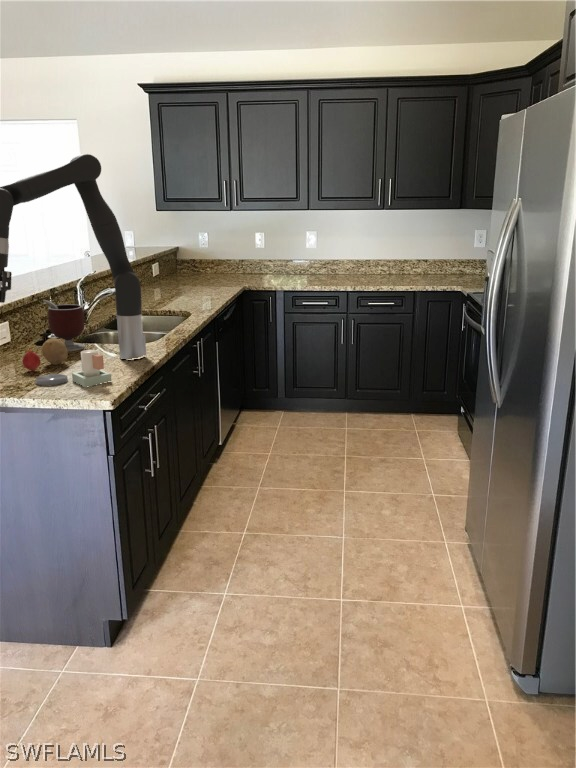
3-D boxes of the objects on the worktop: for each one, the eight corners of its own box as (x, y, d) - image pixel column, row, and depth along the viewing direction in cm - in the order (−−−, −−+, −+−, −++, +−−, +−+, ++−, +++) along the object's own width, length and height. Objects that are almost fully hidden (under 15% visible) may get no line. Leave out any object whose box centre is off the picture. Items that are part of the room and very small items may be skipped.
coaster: (60, 375, 207) (60, 372, 206) (72, 382, 200) (72, 378, 199) (31, 381, 200) (30, 377, 200) (42, 387, 193) (42, 384, 193)
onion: (23, 374, 208) (21, 351, 206) (23, 369, 213) (21, 348, 211) (41, 372, 210) (39, 350, 208) (41, 368, 215) (38, 346, 213)
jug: (79, 382, 200) (77, 351, 197) (94, 378, 204) (91, 348, 201) (95, 387, 195) (92, 356, 192) (109, 383, 199) (107, 352, 196)
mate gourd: (91, 344, 252) (87, 297, 247) (81, 352, 239) (76, 302, 233) (54, 343, 252) (49, 296, 246) (42, 351, 239) (36, 302, 233)
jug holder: (98, 376, 207) (98, 368, 206) (111, 382, 200) (110, 373, 199) (72, 381, 200) (71, 372, 199) (85, 387, 194) (84, 378, 193)
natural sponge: (42, 362, 223) (39, 336, 220) (67, 360, 227) (64, 334, 224) (43, 368, 215) (40, 341, 212) (69, 366, 219) (66, 339, 216)
